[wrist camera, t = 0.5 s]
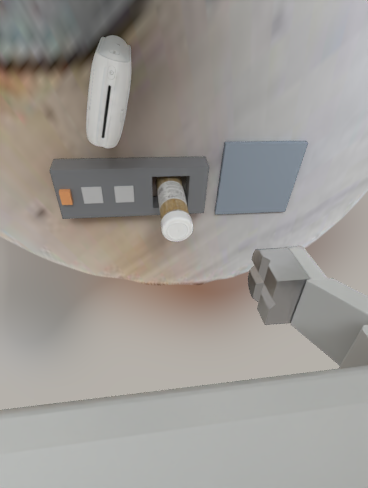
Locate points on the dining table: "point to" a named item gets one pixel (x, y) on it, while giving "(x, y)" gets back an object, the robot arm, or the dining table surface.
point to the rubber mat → (258, 176)
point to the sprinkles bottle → (173, 209)
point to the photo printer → (108, 91)
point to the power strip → (123, 185)
